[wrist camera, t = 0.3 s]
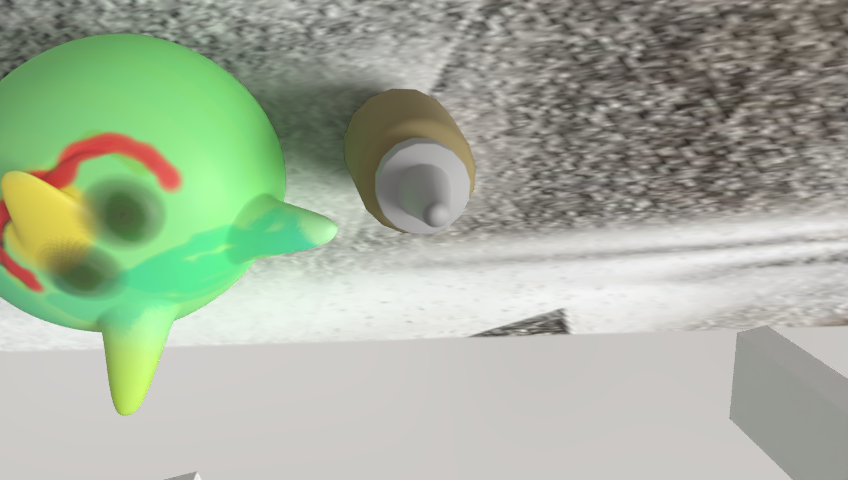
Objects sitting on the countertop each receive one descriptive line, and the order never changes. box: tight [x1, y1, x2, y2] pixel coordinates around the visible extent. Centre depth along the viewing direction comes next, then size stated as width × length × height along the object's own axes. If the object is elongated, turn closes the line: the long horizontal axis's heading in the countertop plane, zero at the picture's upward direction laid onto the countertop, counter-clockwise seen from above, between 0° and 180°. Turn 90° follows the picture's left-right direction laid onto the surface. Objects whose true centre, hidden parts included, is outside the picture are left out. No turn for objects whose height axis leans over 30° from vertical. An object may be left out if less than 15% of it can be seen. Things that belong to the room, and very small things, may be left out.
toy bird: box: [0, 33, 337, 416], centre depth 28 cm, size 18×17×15 cm
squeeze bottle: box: [344, 89, 476, 234], centre depth 28 cm, size 8×8×18 cm
